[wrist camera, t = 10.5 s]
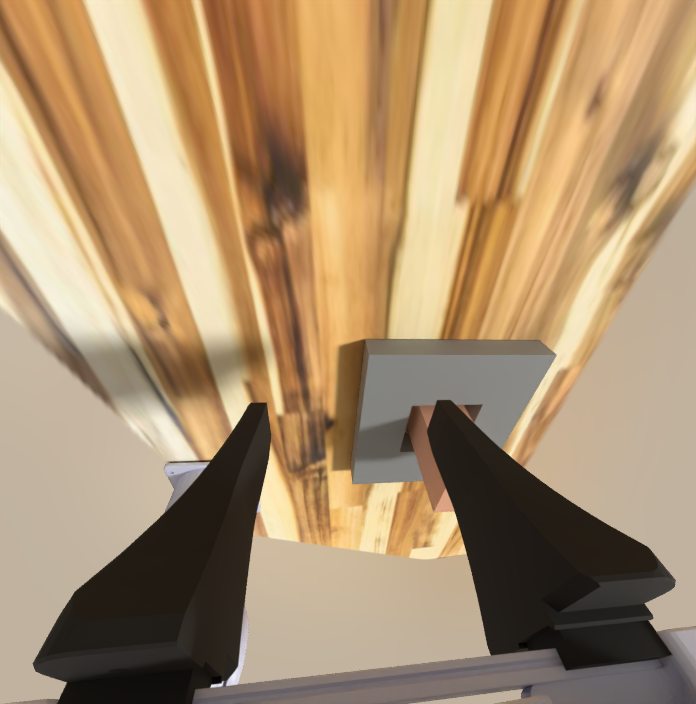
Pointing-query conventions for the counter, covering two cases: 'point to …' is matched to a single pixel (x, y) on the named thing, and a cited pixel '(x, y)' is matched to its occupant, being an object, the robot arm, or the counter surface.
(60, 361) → the counter surface
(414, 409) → the terracotta peg
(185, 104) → the counter surface
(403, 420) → the socket block
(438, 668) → the robot arm
